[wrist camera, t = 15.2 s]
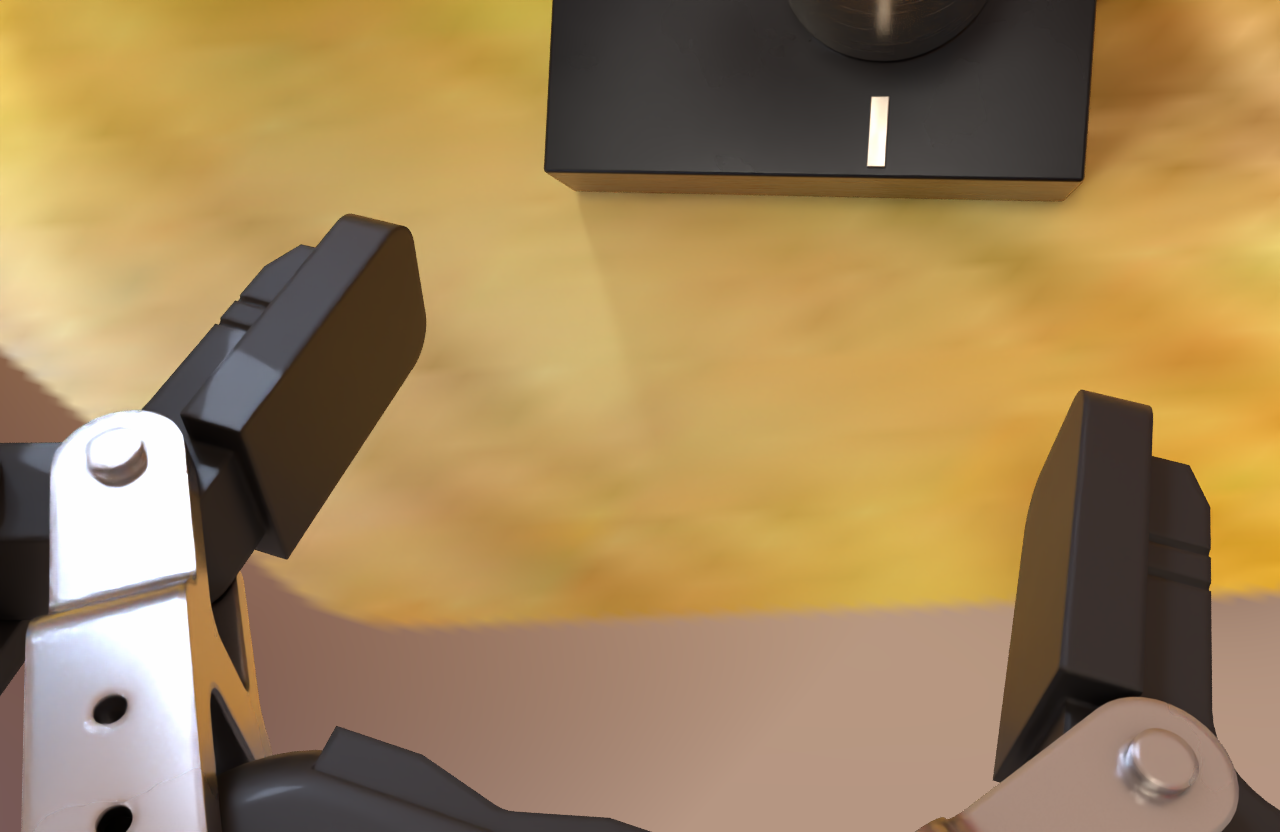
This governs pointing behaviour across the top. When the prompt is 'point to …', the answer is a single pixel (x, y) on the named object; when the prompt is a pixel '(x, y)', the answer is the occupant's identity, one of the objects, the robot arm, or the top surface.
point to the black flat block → (815, 104)
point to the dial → (885, 25)
